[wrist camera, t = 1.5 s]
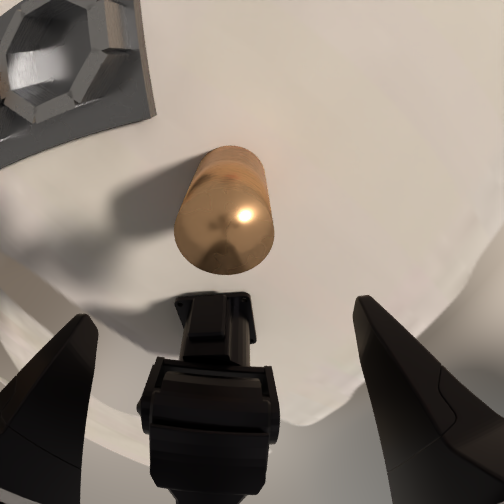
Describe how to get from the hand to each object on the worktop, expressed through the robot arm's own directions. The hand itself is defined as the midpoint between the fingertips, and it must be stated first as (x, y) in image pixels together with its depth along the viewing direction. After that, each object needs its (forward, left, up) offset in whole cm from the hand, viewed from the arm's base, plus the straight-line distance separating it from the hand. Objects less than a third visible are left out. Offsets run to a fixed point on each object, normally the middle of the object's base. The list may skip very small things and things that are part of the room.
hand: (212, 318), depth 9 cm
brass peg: (0, 0, -12) cm, 12 cm away
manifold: (+11, +13, -12) cm, 21 cm away
